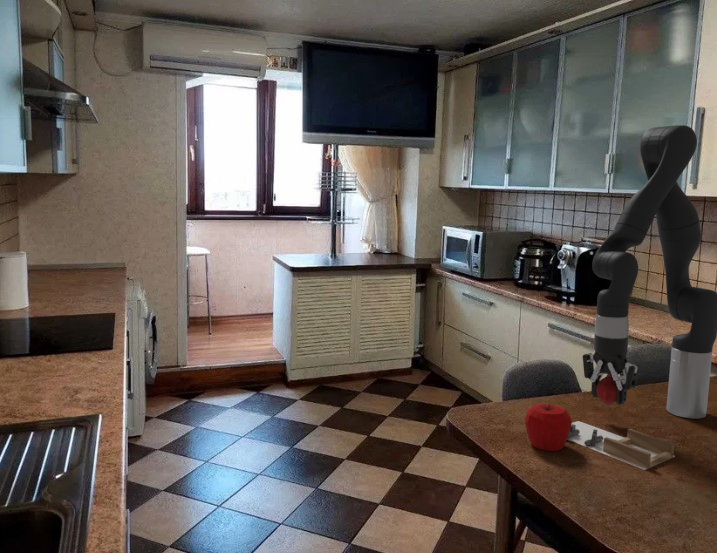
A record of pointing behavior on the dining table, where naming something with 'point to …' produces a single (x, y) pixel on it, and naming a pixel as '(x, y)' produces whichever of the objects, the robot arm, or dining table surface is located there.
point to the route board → (598, 439)
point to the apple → (548, 426)
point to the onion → (607, 390)
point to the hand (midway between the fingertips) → (608, 400)
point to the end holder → (637, 455)
